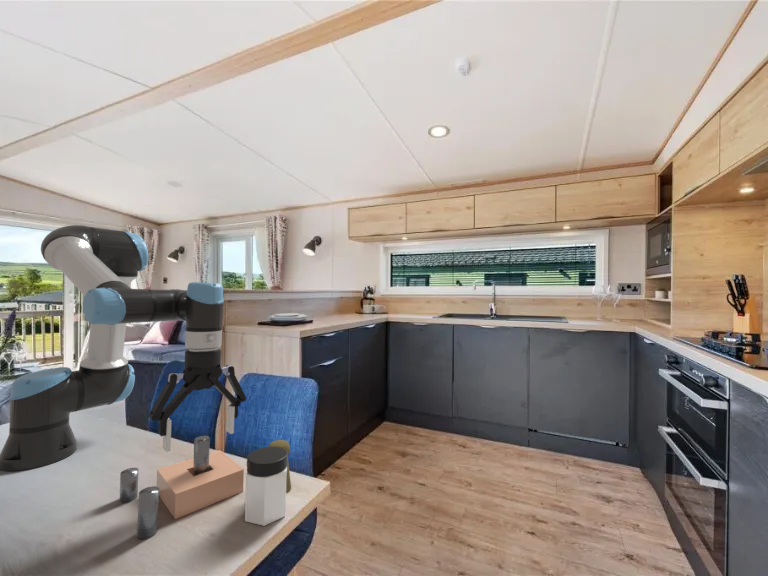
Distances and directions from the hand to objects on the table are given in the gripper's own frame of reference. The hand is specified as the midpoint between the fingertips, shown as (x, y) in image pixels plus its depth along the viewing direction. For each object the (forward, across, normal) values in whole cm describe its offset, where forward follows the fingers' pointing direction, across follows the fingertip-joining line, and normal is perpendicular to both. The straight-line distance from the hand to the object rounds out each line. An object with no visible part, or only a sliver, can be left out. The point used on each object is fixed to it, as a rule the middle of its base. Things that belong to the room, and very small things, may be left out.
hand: (200, 440), depth 80 cm
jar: (+11, +7, -19) cm, 23 cm away
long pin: (+12, 0, -1) cm, 12 cm away
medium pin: (+11, -12, -9) cm, 19 cm away
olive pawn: (+11, +13, -13) cm, 22 cm away
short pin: (+12, -12, +7) cm, 18 cm away
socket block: (+11, 0, -1) cm, 12 cm away
